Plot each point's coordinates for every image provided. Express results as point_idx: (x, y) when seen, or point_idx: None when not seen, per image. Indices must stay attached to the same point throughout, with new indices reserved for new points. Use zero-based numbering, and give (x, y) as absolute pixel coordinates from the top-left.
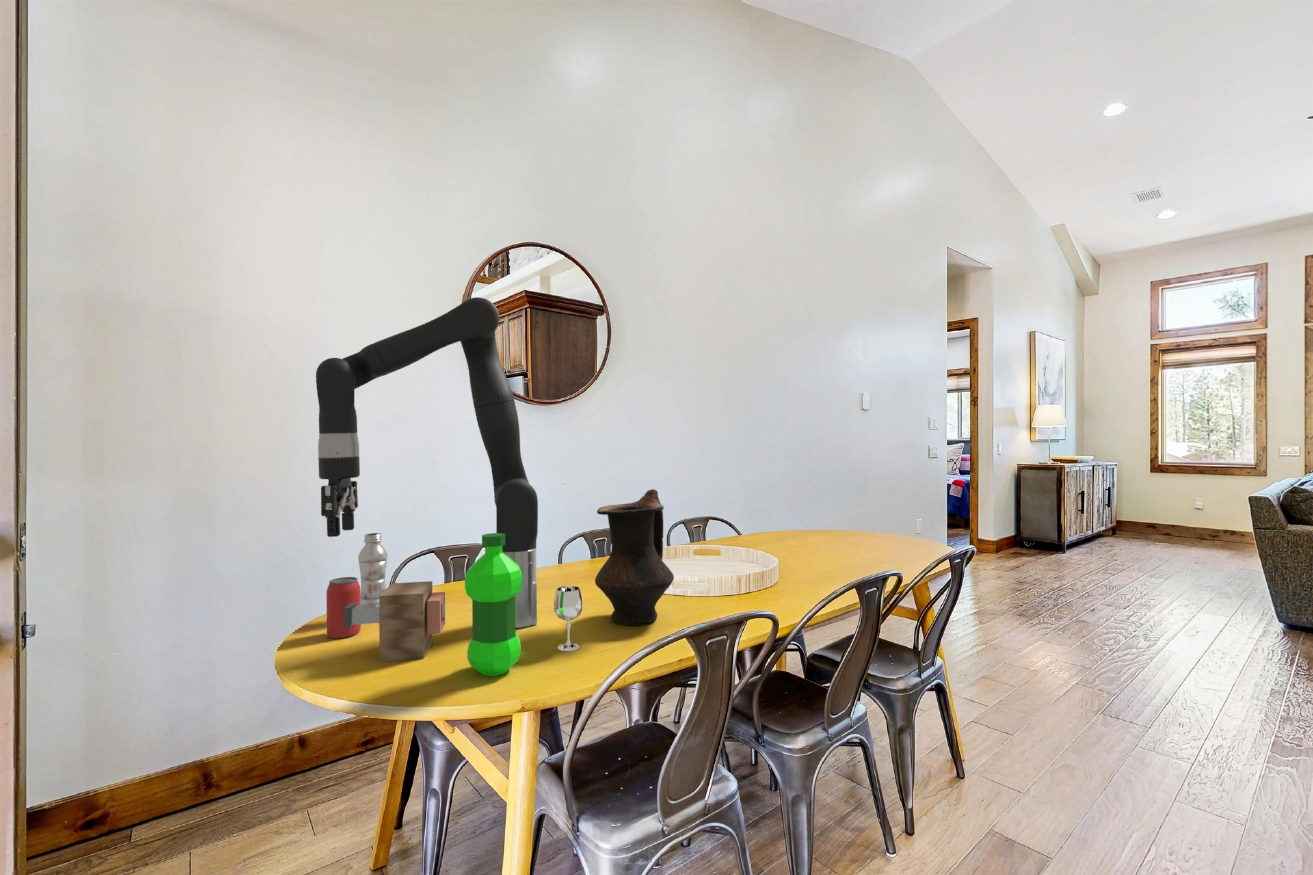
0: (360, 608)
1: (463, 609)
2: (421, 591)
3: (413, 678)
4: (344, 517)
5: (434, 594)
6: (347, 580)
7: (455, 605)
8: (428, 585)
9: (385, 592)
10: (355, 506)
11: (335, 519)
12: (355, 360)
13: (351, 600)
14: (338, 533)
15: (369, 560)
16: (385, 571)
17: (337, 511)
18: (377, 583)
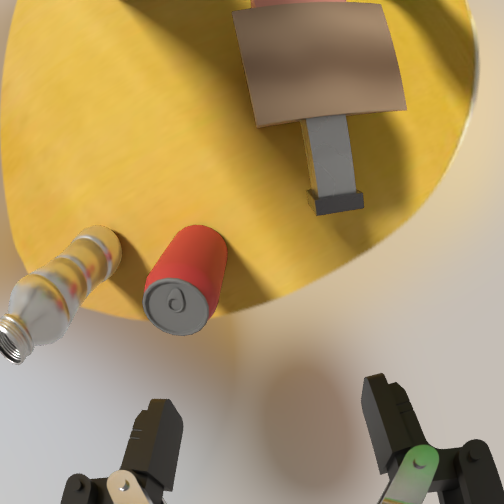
0: (351, 171)
1: (54, 97)
2: (361, 10)
3: (411, 48)
4: (170, 468)
5: (279, 4)
6: (176, 298)
7: (35, 127)
8: (290, 5)
9: (373, 102)
10: (93, 486)
11: (422, 440)
12: None
13: (202, 257)
14: (385, 380)
15: (62, 305)
16: (46, 264)
17: (431, 476)
18: (80, 261)
